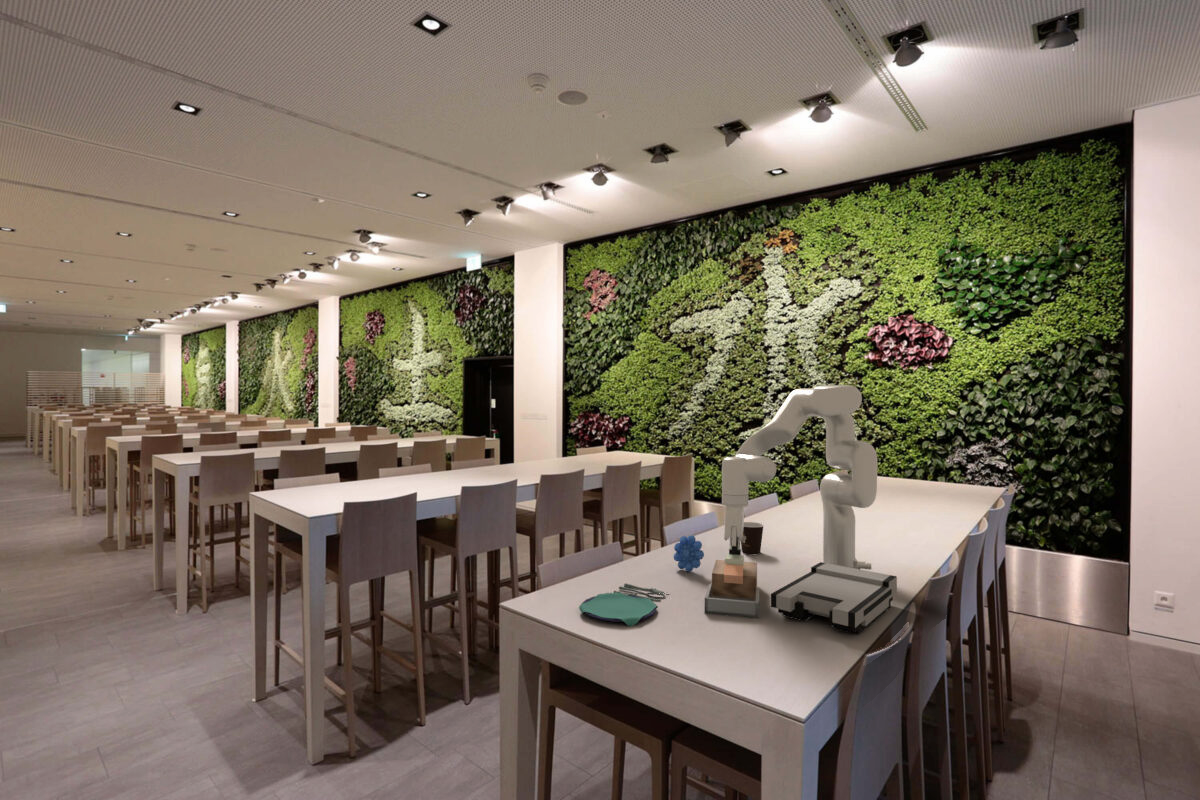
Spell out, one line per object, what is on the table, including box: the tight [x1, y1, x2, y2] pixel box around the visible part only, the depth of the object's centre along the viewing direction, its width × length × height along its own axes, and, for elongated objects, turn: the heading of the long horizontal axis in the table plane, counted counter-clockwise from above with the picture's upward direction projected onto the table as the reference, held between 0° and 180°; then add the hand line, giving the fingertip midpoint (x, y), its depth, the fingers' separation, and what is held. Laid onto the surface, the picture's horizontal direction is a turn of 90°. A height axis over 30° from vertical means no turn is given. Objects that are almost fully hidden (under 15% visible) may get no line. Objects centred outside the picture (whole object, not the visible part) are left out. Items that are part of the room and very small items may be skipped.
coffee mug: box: [740, 521, 764, 555], centre depth 219 cm, size 12×9×10 cm
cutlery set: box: [578, 583, 670, 627], centre depth 164 cm, size 20×30×2 cm, turn 150°
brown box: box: [711, 559, 758, 599], centre depth 175 cm, size 12×14×7 cm
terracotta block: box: [724, 564, 743, 584], centre depth 166 cm, size 5×5×2 cm
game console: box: [770, 561, 898, 636], centre depth 159 cm, size 21×32×8 cm, turn 138°
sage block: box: [724, 553, 745, 572], centre depth 172 cm, size 5×5×4 cm
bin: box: [704, 583, 760, 619], centre depth 162 cm, size 14×12×4 cm
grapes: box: [673, 534, 705, 573], centre depth 195 cm, size 12×7×12 cm, turn 45°
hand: (734, 562), depth 176 cm, fingers closed
